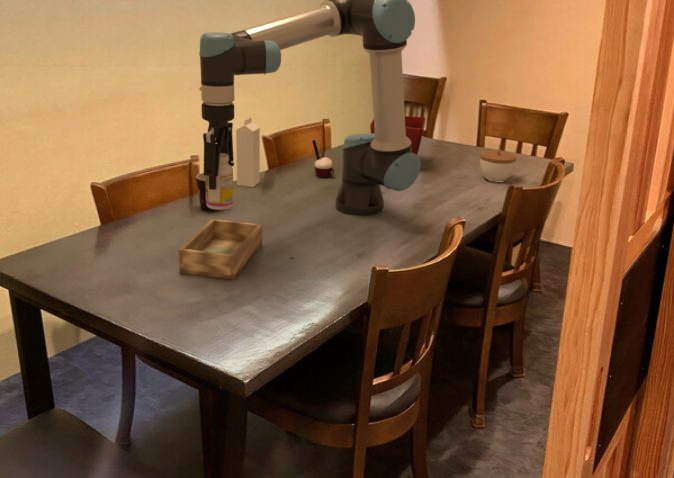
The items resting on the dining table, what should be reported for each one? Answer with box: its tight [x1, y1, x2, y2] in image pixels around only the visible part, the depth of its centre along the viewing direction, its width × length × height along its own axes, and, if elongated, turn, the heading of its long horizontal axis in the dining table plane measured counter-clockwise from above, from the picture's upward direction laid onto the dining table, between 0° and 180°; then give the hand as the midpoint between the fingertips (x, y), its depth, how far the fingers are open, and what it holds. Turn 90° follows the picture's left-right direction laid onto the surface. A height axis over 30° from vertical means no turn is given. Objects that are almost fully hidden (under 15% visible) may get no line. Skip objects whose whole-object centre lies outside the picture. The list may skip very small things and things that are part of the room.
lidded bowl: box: [479, 149, 517, 181], centre depth 251 cm, size 13×13×11 cm
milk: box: [235, 117, 261, 188], centre depth 232 cm, size 6×6×22 cm
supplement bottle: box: [205, 153, 234, 211], centre depth 170 cm, size 7×7×13 cm
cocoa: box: [312, 139, 335, 179], centre depth 246 cm, size 10×6×12 cm, turn 32°
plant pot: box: [369, 115, 427, 157], centre depth 262 cm, size 19×19×17 cm
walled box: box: [178, 218, 263, 281], centre depth 177 cm, size 14×22×6 cm, turn 169°
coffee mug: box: [195, 172, 220, 213], centre depth 212 cm, size 12×9×10 cm
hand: (219, 196), depth 171 cm, fingers closed on supplement bottle, 7 cm apart
